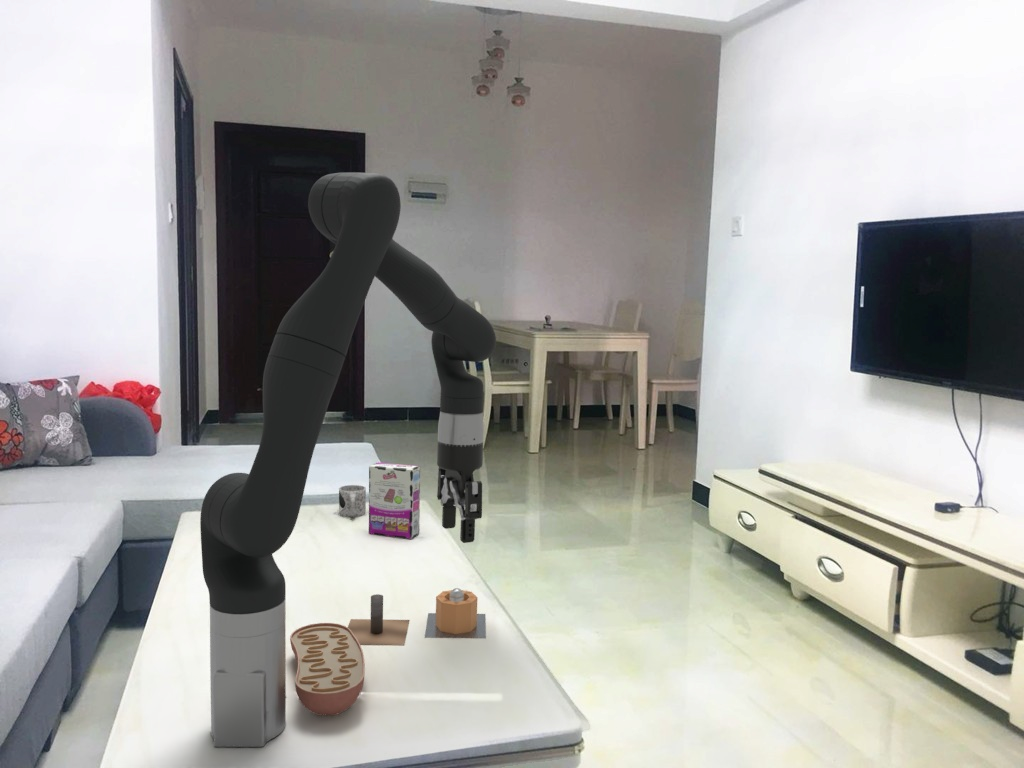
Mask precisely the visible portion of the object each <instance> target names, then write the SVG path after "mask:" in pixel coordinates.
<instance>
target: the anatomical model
mask: <svg viewBox="0 0 1024 768" xmlns="http://www.w3.org/2000/svg"><path fill="white" fill-rule="evenodd" d="M289 640H290V641H289V642H290V646H291V650H292V652H293V654H294V656H295V659H296V661H297V671H296V676H295V679H294V686H295V692H296V695H297V697H298V700H299V701H300V703H301V705H302V706H304V708H306V709H307V710H308V712H309V711H310V712H311V713H312V714H315V715H318V716H324V717H325V716H326V717H327V716H329V717H331V716H335V715H339V714H341V713H343V712H345V711H346V710H348V709H350V707H351V706H353V705H354V703H355V702H356V701H357V699H358V697H359V696H360V694H361V691H362V689H363V686H364V680H365V670H366V667H365V656H364V652H363V649H362V645H360V644H359V642H358V640H357V638H356V637H355V635H354V634H353V633H352V631H351V630H350V629H349V628H348V626H346V625H343V624H340V623H334V622H318V623H312V624H310V623H309V624H308V625H304V626H301V627H299V628H297V629H295V630H294V631H293V632H292V633H291V634H290V637H289Z"/></svg>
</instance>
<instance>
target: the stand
mask: <svg viewBox="0 0 1024 768" xmlns="http://www.w3.org/2000/svg"><path fill="white" fill-rule="evenodd" d="M410 621H411V620H410V619H384V595H383V594H378V593H377V594H372V595H371V596H370V619H363V618H362V619H361V618H359V619H358V618H350V620H349V623H348V625H347V627H348V628H349V629H350V630H351V631H352V633H353V634H354V635H355V637H356V638H357V640H358V642H359V644H360V645H361V646H399V647H400V646H401V647H402V646H405V645H406V640H407V639H406V638H407V634H408V630H409V624H410Z"/></svg>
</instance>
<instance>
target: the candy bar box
mask: <svg viewBox="0 0 1024 768" xmlns="http://www.w3.org/2000/svg"><path fill="white" fill-rule="evenodd" d="M368 490H369V491H368V534H369V535H373V536H374V535H375V536H382V537H389V538H390V537H391V538H392V537H393V538H399V539H406V540H407V539H409V540H412V539H413V538H415V537H416V536H418V535H419V534H420V518H421V517H420V515H421V514H420V511H421V510H420V509H421V508H420V505H421V503H420V500H421V498H420V495H421V494H420V493H421V491H420V490H421V466H420V465H409V464H400V463H399V464H398V463H389V462H376V463H373V464H371V465H369V466H368Z"/></svg>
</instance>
